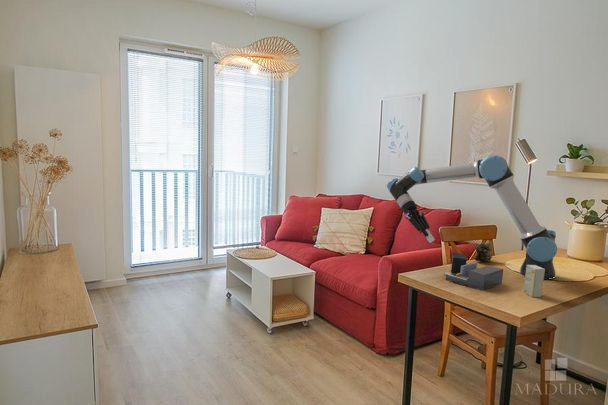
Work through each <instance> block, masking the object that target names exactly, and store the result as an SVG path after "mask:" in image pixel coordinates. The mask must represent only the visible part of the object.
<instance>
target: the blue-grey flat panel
mask: <svg viewBox="0 0 608 405" xmlns="http://www.w3.org/2000/svg"><path fill="white" fill-rule="evenodd" d="M477 265H478V263H477V262H476V261H474V262H471V263H466V265H462V266H461V272H460V273H458V274H456V276H458V275H461V276H464V277H468V278H469V271H470V270H474V269H477V267H478V266H477Z"/></svg>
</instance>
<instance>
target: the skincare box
mask: <svg viewBox="0 0 608 405" xmlns="http://www.w3.org/2000/svg"><path fill="white" fill-rule="evenodd" d="M544 273H545V269H544V268H541V267H539V266H537V265H527V267H526V274H525V275H524V283H523V291H522V292H523V293H524V294H526V295H528V296H529V297H531V298H542V293H543V287H544V280H545V279H544Z"/></svg>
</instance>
